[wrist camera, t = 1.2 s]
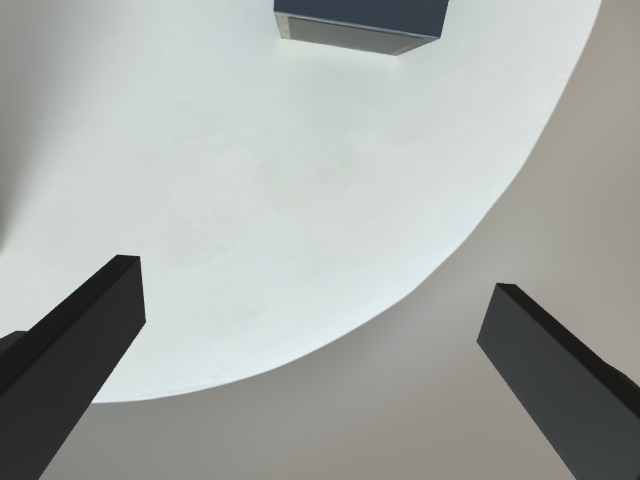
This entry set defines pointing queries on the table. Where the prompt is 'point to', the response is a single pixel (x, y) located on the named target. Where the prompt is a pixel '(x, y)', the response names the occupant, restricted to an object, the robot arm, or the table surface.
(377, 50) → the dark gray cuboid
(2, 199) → the table surface
